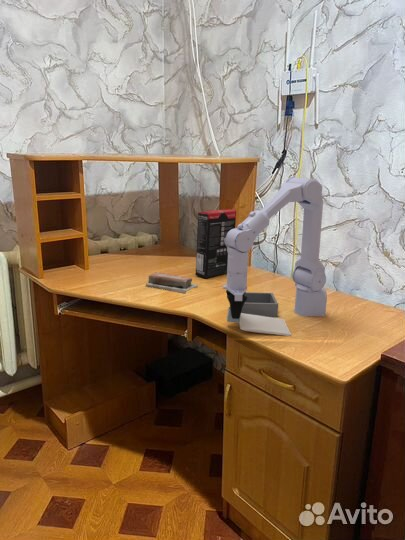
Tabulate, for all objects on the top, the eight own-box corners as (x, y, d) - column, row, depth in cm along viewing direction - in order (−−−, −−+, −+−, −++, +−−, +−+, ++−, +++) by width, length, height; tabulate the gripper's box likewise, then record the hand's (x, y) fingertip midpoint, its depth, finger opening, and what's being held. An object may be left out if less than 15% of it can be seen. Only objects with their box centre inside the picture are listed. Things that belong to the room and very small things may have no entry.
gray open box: (271, 306, 142) (272, 292, 141) (277, 319, 132) (278, 304, 131) (230, 305, 142) (230, 291, 141) (232, 318, 132) (233, 303, 130)
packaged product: (144, 275, 160) (158, 269, 169) (144, 287, 161) (158, 281, 170) (186, 282, 152) (198, 275, 161) (186, 295, 154) (198, 287, 162)
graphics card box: (222, 269, 188) (224, 208, 180) (234, 272, 183) (237, 209, 176) (195, 276, 176) (196, 211, 169) (206, 279, 171) (208, 213, 164)
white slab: (282, 323, 129) (285, 310, 128) (290, 339, 118) (293, 324, 117) (225, 315, 128) (227, 301, 127) (227, 330, 118) (230, 315, 116)
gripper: (222, 264, 126) (220, 307, 129) (224, 278, 112) (222, 325, 115) (245, 265, 126) (243, 307, 130) (251, 279, 112) (248, 326, 116)
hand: (235, 316), depth 122 cm, fingers closed on white slab, 2 cm apart
